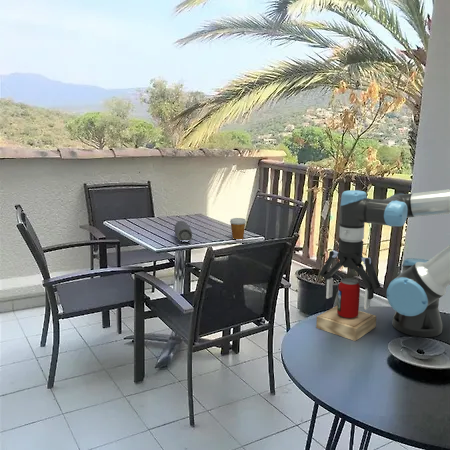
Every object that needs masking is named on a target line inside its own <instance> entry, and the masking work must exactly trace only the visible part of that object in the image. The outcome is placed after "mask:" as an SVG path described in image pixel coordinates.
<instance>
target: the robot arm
mask: <svg viewBox="0 0 450 450" xmlns="http://www.w3.org/2000/svg"><path fill="white" fill-rule="evenodd" d="M340 198H341V199H340V205H339V206H340V207H339V208H340V213H339V233H338V235H339V236H338V237H339V240H338V251H337V250H336V249H333V250H331V251H329V252H328V253H329V254H328V258H327V260H326V262H325V263H324V265H323V267H322V268H321V270H320V272H319V276H321V277H323V278H324V288H326V291H325V292H326V293H325V294H326V296H325V298H326V299H330V298H332V297H333V291H334V287H333V286H334V278H333V277H332V276H333V275H335V274H336V272H337V271H339V270H340V269H341V268H342V267H343V268H346V269H347V268H348V269H351V270H353V269H354V271H355V272H356V273H357V274H358V276H359V277H360V279H361V280H362V282H363V283H364V285H365V287H366V288H365V289H364V302H363V309H364V310H368V309H369V308H371V301H372V300H373V299H374V292H375V290H377V289H379V288H381V284H380V281H379V279H378V278H379V277H378V275H377V273H376V270H375V267H374V266H373V265H374V264H373V258H372V257H371V256H369V257H364V256H363V251H364V241H363V240H364V238H365V223H366V224H373V225H374V224H375V225H380V226H381V225H382V226H387V227H388V226H389V227H403V226H404V225H405V223H406V222H407V219H408V218H417V217H428V216H429V217H430V216H440V215H441V216H442V215H443V216H444V215H450V189H449V188H448V189H440V190H430V191H422V192H412V193H405V194H404V193H396V194H395V193H394V194H393V195H390V196H389V197H386V198H384V199H377V198H376V199H375V198H369V197H368V196H367V192H366V191H363V190H358V189H356V190H354V189H353V190H344V191H343V192H342V193H341V197H340ZM336 258H338V261H337V263H335V265H334V266H333V267H332V268H331V266H332V265H333V264H334V261H335V259H336ZM362 262H363V264H364V265H363V264H362ZM364 266H365V267H364ZM401 266H402V271H401V272H400V273H399V274H398V275H397V277H395V278H394V279H392V280H391V281H390V282H389V284H388V287H387V289H386V299H387V302H388V303H389V306H390V307H391V308H392V309H393V310H394V311H395V312H394V315H393V317H392V326H393V328H395V330H397V331H398V332H401V333H403V334H405V335H408V336H413V337H419V338H432V337H438V336H439V335H441V334H442V332H443V321H442V318H441V314H440V309H439V305H440V303H439V302H440V298H442V297H443V296H445V295H446V293H447V287H448V286H449V285H450V244H449V245H448V246H447V247H445V248H443V250H441V251H439V252H438V253H437V254H435V255H434V256H433V257H431V258H430V259H425V258H413V257H411V258H410V257H409V258H405V259H403V262H402V265H401ZM330 268H331V269H330ZM365 269H366V270H365Z"/></svg>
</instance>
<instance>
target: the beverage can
mask: <svg viewBox="0 0 450 450" xmlns="http://www.w3.org/2000/svg"><path fill="white" fill-rule="evenodd" d="M337 288H338V289H337V290H338V291H337V305H338V306H337V305H336V306H337V313H338V314H339V315H340V316H341V317H343V318H348V319H351V318H354V317H356V316H358V311H360V310H359V308H360V298H361V296H360V294H361V293H360V292H361V285H360V283H359V280H357V279H355V278H352V277H349V278H348V277H347V278H346V277H344V278H341V280H340V282H339V283H338V287H337Z"/></svg>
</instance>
